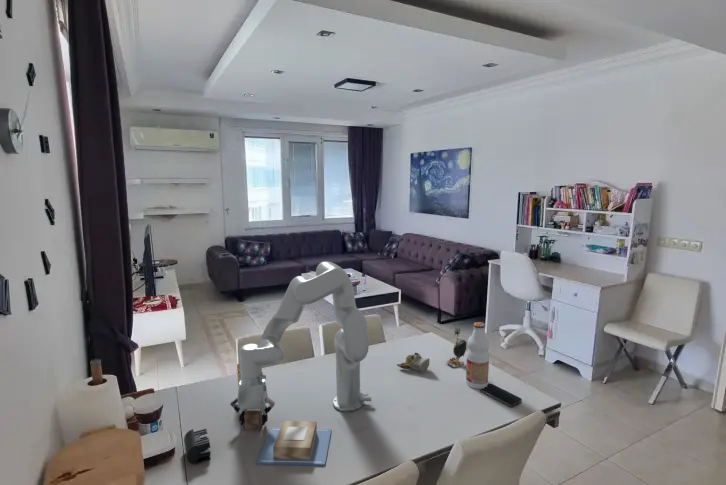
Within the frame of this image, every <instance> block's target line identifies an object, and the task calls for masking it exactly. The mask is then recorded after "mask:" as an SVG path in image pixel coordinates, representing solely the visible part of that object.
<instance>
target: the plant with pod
mask: <svg viewBox="0 0 726 485" xmlns="http://www.w3.org/2000/svg"><path fill="white" fill-rule="evenodd" d="M460 333H461V328H460V327H458V326H456V327H455V329H454V337H455V336H456V335H457V338H456V342H455V344H454V345H453V348H452V349H453V350H452V351H453V355H454V356H455V357H451V358H449V359H448V360H447V361H446V362H445V363H446V364H448V365H449V366H451V367H452V368H458V367H461V366H463V364H464V361H461V360H460V358H461V357H465V354H466V351H467V342H468V339H467V340H465V339H462V338H461V339H459V335H460Z"/></svg>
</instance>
